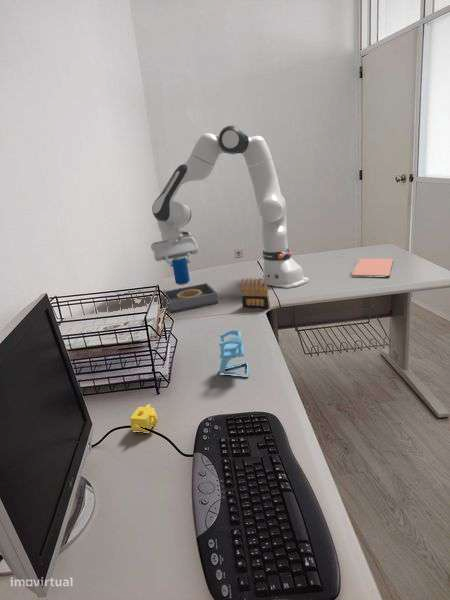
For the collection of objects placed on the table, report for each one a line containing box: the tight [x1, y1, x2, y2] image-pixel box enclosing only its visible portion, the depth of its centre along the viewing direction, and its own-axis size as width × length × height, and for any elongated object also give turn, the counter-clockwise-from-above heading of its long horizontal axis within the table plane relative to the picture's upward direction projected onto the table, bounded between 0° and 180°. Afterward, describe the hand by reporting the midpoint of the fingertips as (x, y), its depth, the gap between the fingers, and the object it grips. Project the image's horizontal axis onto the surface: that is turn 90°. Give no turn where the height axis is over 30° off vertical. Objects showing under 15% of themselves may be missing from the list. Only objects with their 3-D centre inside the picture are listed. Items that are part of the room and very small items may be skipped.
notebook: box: [349, 258, 394, 277], centre depth 189 cm, size 27×17×2 cm, turn 156°
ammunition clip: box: [241, 278, 271, 310], centre depth 157 cm, size 11×2×12 cm, turn 69°
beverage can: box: [171, 256, 191, 286], centre depth 182 cm, size 6×6×12 cm
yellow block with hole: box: [129, 404, 159, 432], centre depth 93 cm, size 8×6×5 cm
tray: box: [162, 282, 219, 314], centre depth 172 cm, size 16×20×4 cm
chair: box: [218, 330, 250, 375], centre depth 112 cm, size 8×8×12 cm
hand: (180, 264), depth 181 cm, fingers closed on beverage can, 6 cm apart
